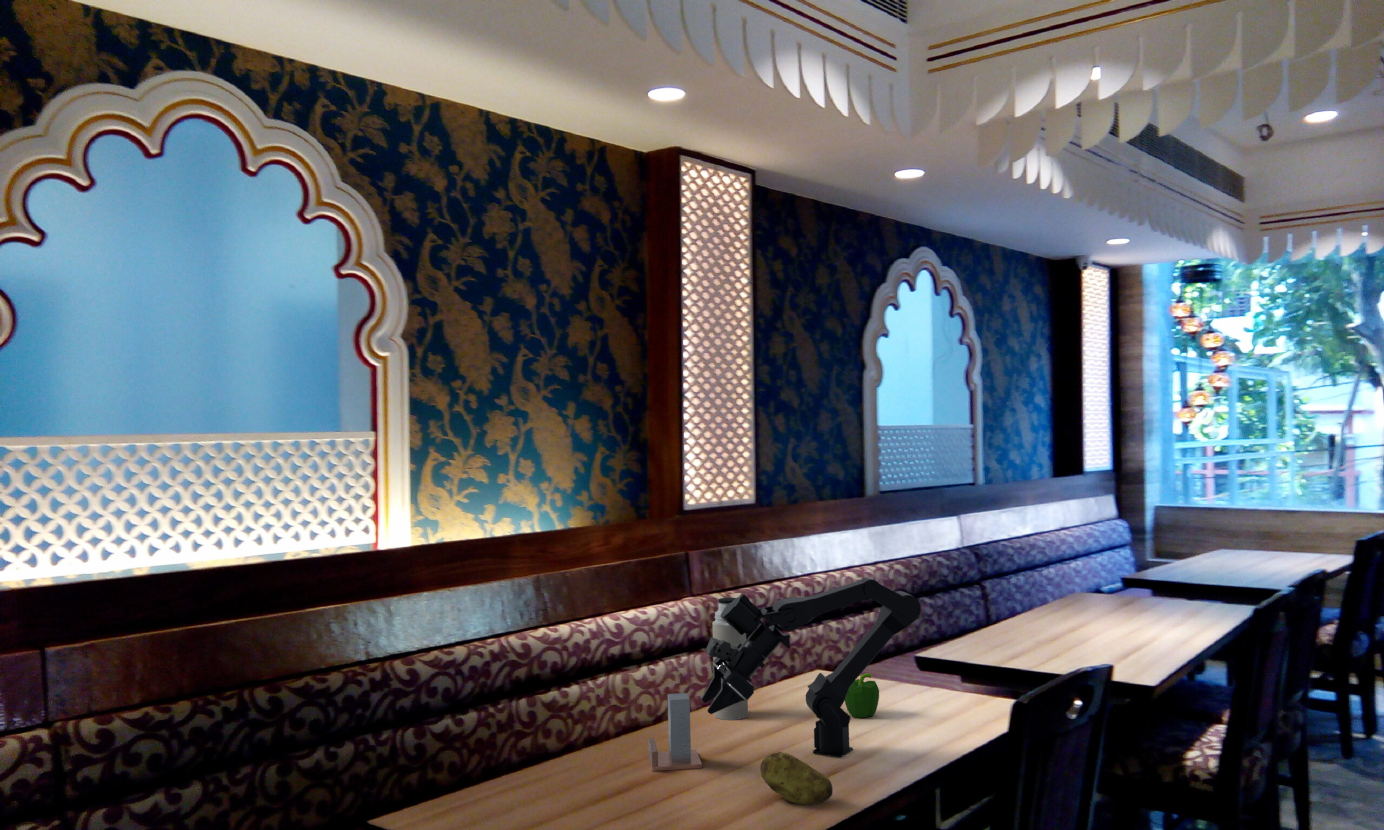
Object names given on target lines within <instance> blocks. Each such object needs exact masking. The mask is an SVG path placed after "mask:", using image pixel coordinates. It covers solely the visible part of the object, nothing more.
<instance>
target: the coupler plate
mask: <svg viewBox="0 0 1384 830" xmlns="http://www.w3.org/2000/svg"><path fill="white" fill-rule="evenodd" d="M647 739H648V740H647V741H648V743H647V744H648V759H649V764H650V766H651V767H650V768H651V771H652V772H659V771H660V772H661V771H664V772H665V771H676V770H692V769H702V768H703V763H702V761H701V758H700V756H699V753H698V752H697V749H691V761H681V762H671V759H670V756H669V750H666V751H664V750H663V751H658V746H657V743H656V740H655V737H648V738H647Z"/></svg>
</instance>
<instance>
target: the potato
mask: <svg viewBox="0 0 1384 830" xmlns="http://www.w3.org/2000/svg"><path fill="white" fill-rule="evenodd" d="M759 770H760V774H761V775H760V776H761V778H762V779H763V781H764V783H765V785H767V786H768V787H769V788H770V790H772V792H775V793H776V794H779V795H781V797H782V798H783V799H785V800H786V801H788V802H791V803H792V804H793V803H794V804H796V805H797V804H799V805H815V804H822V803H824V802H826V801H828V799H830V798H831V797H832V796H833V783H832V781H831V780H830V778H828V777H827V776H826V775H824V774H823V773H822V772H821V771H818V770H817V769H815V768H813V767H812V766H810V765H809V764H808V763H806V762H805V761H803V760H800V759H799V758H798V757H796V756H794V755H793V754H790V753H787V752H781V751H777V752H773V753H771V754H769V755H767V756H766V757H764V758H763V759H762V761H761V762H760V767H759Z"/></svg>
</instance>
